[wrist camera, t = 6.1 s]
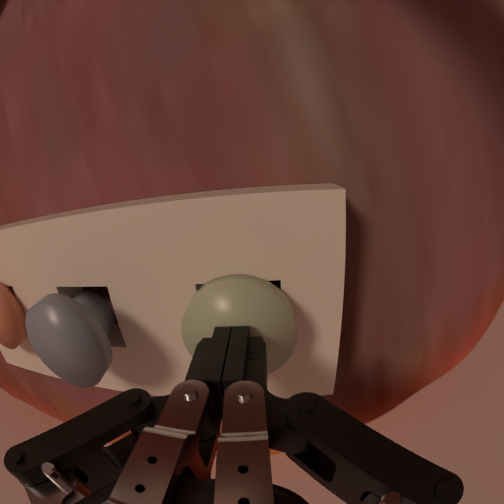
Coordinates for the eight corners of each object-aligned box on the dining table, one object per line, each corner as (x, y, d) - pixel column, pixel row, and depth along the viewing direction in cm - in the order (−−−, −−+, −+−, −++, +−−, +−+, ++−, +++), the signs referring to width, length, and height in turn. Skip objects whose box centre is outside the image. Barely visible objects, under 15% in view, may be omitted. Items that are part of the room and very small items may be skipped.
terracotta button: (11, 253, 16) (-21, 272, 13) (52, 298, 17) (22, 323, 13) (2, 295, 18) (-24, 315, 14) (39, 335, 19) (15, 360, 15)
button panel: (332, 183, 14) (345, 189, 12) (327, 368, 18) (333, 394, 15) (-21, 231, 16) (-40, 239, 14) (20, 348, 20) (6, 362, 17)
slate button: (76, 255, 14) (35, 283, 10) (145, 314, 15) (117, 356, 11) (53, 310, 15) (20, 341, 12) (111, 361, 16) (87, 399, 13)
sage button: (237, 234, 15) (228, 260, 11) (310, 294, 16) (321, 333, 12) (181, 300, 16) (161, 338, 13) (249, 350, 17) (245, 393, 14)
